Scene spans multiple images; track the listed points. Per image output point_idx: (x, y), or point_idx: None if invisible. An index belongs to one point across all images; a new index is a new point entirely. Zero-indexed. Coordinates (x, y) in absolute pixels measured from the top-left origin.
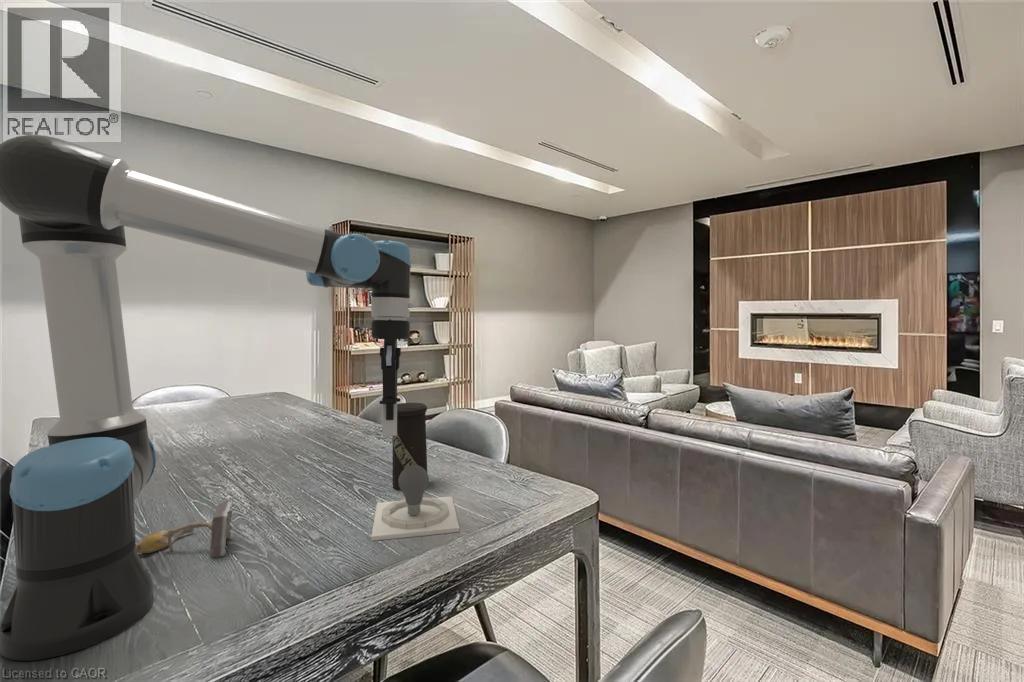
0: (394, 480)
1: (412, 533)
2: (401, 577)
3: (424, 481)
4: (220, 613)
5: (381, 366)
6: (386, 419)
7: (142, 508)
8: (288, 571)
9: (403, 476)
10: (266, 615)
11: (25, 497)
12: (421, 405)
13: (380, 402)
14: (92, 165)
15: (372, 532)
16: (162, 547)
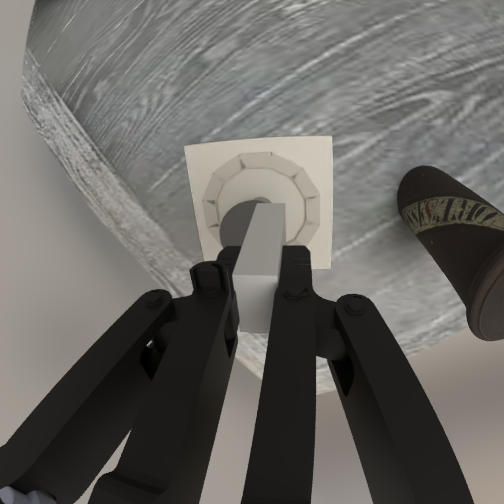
0: (418, 173)
1: (194, 205)
2: (106, 199)
3: None
4: (64, 49)
5: (92, 498)
6: (225, 249)
7: None
8: (118, 64)
9: (228, 220)
10: (58, 91)
11: None
12: (492, 335)
13: (192, 272)
14: None
15: (197, 145)
16: None
